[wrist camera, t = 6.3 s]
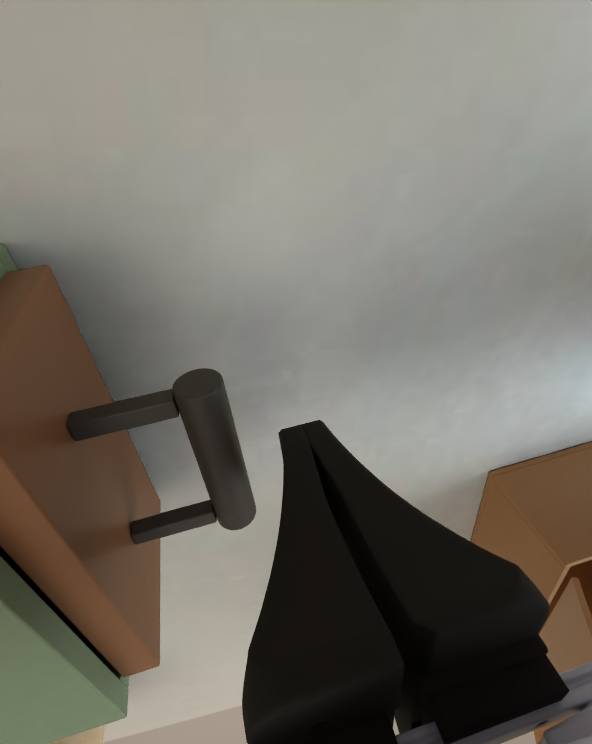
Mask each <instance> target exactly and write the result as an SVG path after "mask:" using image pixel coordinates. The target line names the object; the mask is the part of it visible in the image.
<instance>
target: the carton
mask: <svg viewBox="0 0 592 744" xmlns="http://www.w3.org/2000/svg"><path fill="white" fill-rule="evenodd" d="M471 542H472V543H474V544H476V545H477V546H479V547H481V548H483V549H485V550H487V551H489V552H491V553H493V554H495V555H497V556H499V557H501V558H503V559H506V560H508V561H510V562H512V563H514V564H516V565H518V566H519V567H520V568H521V570H522V571H523V572H524V573H525V574H526V575H527V576H528V577H529V578H530V580H531V581H532V582H533V583H534V584H535V585H536V586H537V588H538V589H539V590H540V592H541V593H542V594H543V596H544V597H545V599H546V600H547V601H548V603H549V606H550V611H549V614H548V617H547V619H546V621H545V623H546V622H547V620H548V618H549V616H550V615H551V613H552V611H553V609H554V608H555V606H556V604H557V602H558V601H559V599H560V597H561V595H562V594H563V592H564V590H565V588H566V587H567V585H568V583H569V581H570V580H571V578H572V577H573V578H578V580H579V582H580V585H581V588H582V591H583V594H584V597H585V600H586V602H587V605H588V608H589V611H590V614H591V617H592V442H589V443H586V444H582V445H579V446H575V447H572V448H569V449H565V450H562V451H558V452H555V453H552V454H548V455H545V456H541V457H538V458H535V459H531V460H528V461H524V462H521V463H517V464H514V465H511V466H507V467H504V468H500V469H497V470H494V471H490V472H489V474H488V478H487V482H486V486H485V490H484V493H483V497H482V501H481V505H480V508H479V512H478V516H477V520H476V524H475V527H474V531H473V535H472V539H471ZM545 623H544V624H543V626H542V628H541V630H542V629H543V627H544V625H545ZM541 630H540V631H539V633H538V634H540V632H541Z"/></svg>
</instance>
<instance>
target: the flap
mask: <svg viewBox="0 0 592 744" xmlns="http://www.w3.org/2000/svg"><path fill="white" fill-rule="evenodd" d="M539 636H540V637H541V639H542V640H543V641H544V643H545V644H546V646H547V648H548V651H549V652H548V653H547V654H546V655H547V657H548V658H549V660H550V662H551V663H552V665H553V666H554V668H555V669H556V671H557V672H558V674H560V673H562V672H565V671H568V670H570V669H573V668H576V667H578V666H581V665H583V664H586V663H589V662H591V661H592V617H591V614H590V611H589V608H588V605H587V602H586V600H585V597H584V594H583V591H582V588H581V585H580V582H579V580H578V578H573V577H572V578H571V580H570V581H569V583H568V585H567V587H566V588H565V590H564V592H563V594H562V595H561V597H560V599H559V601H558V602H557V604H556V606H555V608H554V609H553V611H552V613H551V615H550V616H549V618H548V620H547V622H546V623H545V625H544V627H543V629H542V630H541V632H540V634H539ZM576 714H577V713H576ZM574 715H575V714H574ZM571 716H573V715H571ZM571 716H569V717H571ZM569 717H566V718H564V719H561V720H559V721H556V722H554V723H551V724H549V725H546V726H544V727H541V728H539V729H536V730H534V734H535V739H536V743H537V744H538V743H539V742H540V740H541V739H542V738H543V732H544V731H545V730H547V729H549V728H551V727H553V726H554V725H556V724H558V723H560V722H562V721H564V720H566V719H567V718H569Z"/></svg>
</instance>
